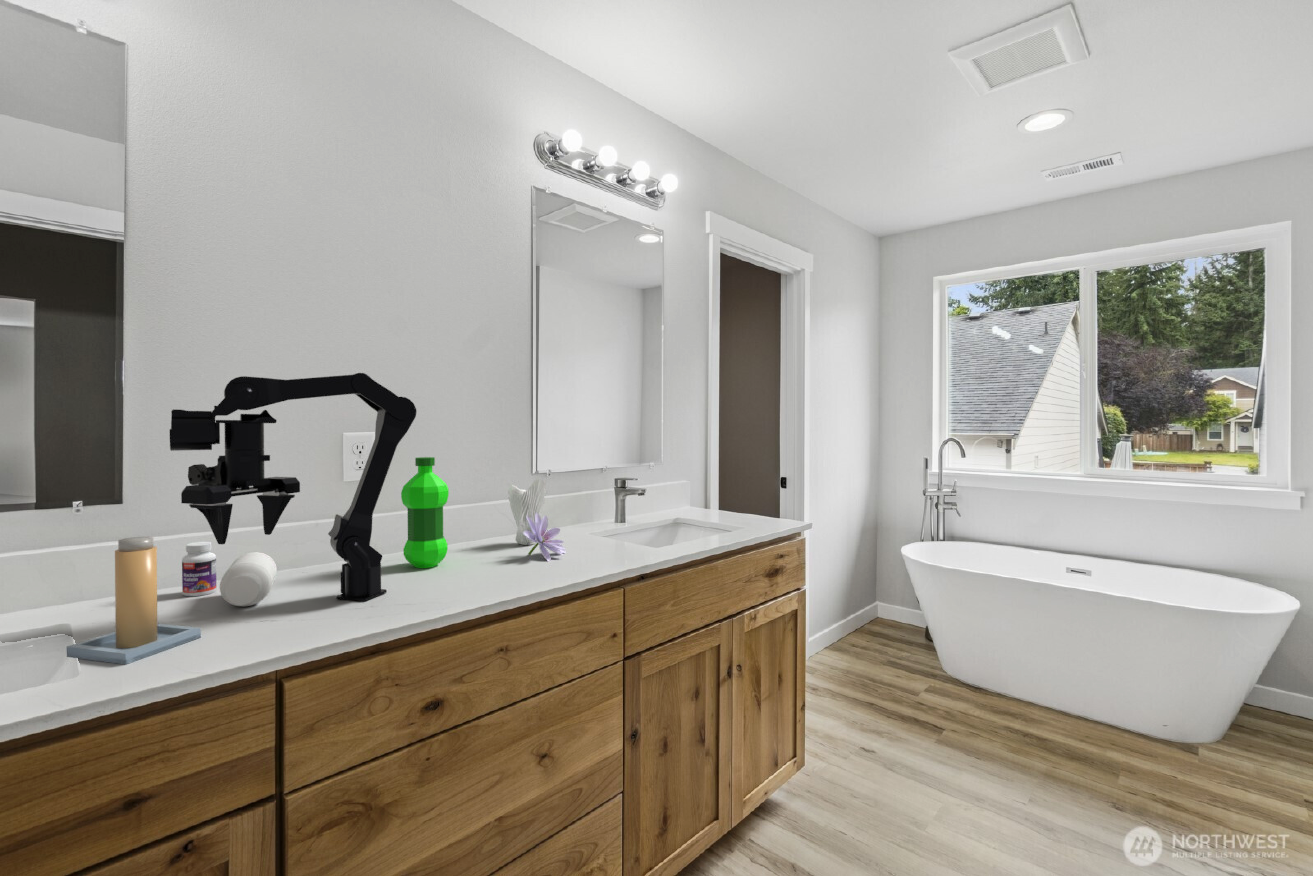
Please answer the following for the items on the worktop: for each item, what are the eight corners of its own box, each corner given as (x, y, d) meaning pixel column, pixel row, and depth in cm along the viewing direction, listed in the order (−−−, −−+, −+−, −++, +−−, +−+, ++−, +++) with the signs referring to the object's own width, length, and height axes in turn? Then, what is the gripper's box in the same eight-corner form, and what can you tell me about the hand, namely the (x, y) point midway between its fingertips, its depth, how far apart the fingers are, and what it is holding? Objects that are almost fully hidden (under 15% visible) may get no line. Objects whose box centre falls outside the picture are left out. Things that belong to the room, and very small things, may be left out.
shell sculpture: (505, 544, 169) (504, 478, 168) (529, 540, 175) (529, 476, 175) (524, 548, 164) (524, 480, 163) (548, 544, 170) (548, 477, 169)
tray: (200, 637, 98) (200, 627, 97) (125, 664, 87) (125, 653, 87) (146, 631, 100) (146, 622, 100) (66, 657, 90) (66, 646, 89)
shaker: (164, 636, 96) (163, 535, 96) (144, 647, 92) (143, 541, 91) (129, 637, 95) (128, 536, 95) (107, 649, 91) (106, 542, 90)
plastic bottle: (455, 566, 144) (454, 458, 143) (407, 573, 138) (406, 459, 137) (443, 558, 152) (442, 455, 151) (397, 564, 146) (396, 457, 146)
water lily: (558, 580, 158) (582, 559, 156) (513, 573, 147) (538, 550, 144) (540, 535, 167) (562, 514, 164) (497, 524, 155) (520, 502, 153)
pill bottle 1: (178, 598, 119) (177, 547, 118) (186, 591, 123) (185, 542, 123) (213, 595, 121) (211, 545, 120) (219, 588, 126) (218, 539, 125)
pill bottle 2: (251, 600, 123) (238, 622, 110) (219, 571, 121) (202, 590, 107) (287, 571, 126) (279, 590, 112) (257, 542, 123) (245, 558, 110)
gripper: (253, 446, 120) (253, 528, 120) (153, 451, 101) (155, 547, 102) (301, 447, 117) (302, 531, 117) (208, 452, 99) (210, 551, 99)
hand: (245, 539), depth 109 cm, fingers open, 9 cm apart
